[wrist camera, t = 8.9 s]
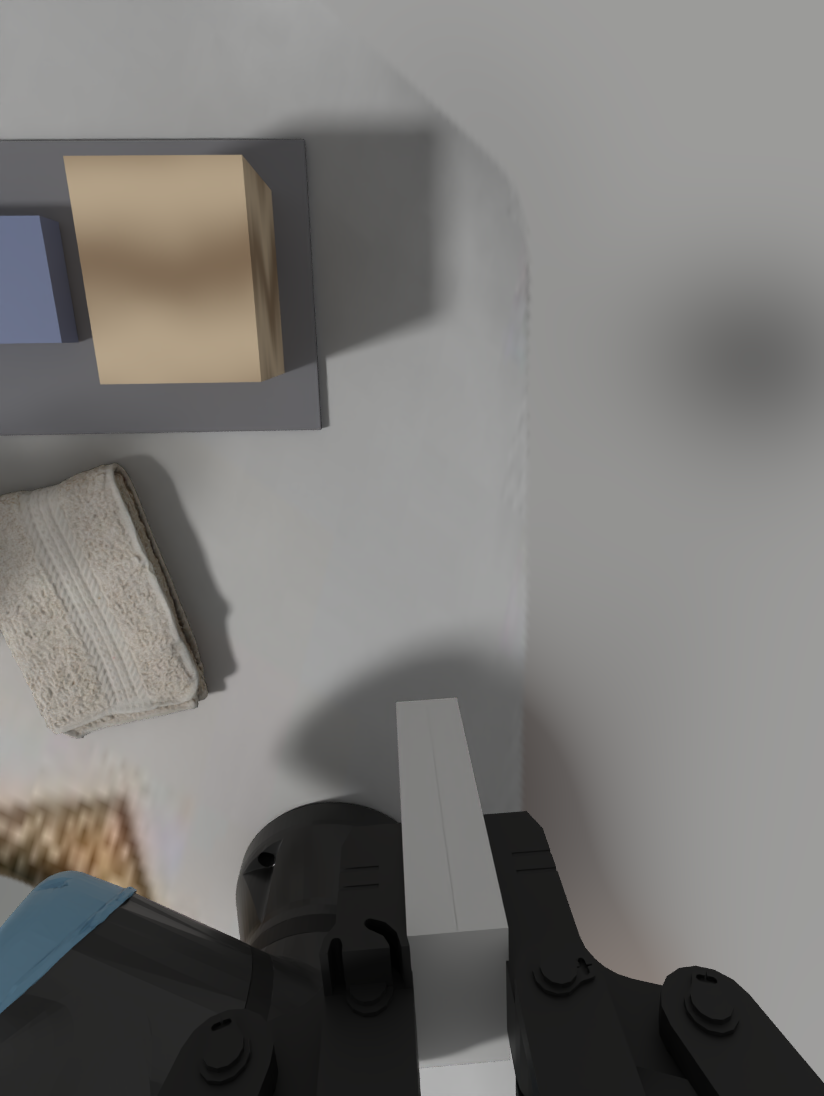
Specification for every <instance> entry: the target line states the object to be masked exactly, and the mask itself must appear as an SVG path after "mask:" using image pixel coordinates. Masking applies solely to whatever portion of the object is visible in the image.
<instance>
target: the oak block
mask: <svg viewBox="0 0 824 1096" xmlns="http://www.w3.org/2000/svg"><path fill="white" fill-rule="evenodd" d="M63 158H64V164H65V171H66V177H67V183H68V189H69V195H70V201H71V207H72V214H73V220H74V226H75V232H76V238H77V244H78V250H79V257H80V263H81V269H82V275H83V281H84V287H85V293H86V300H87V306H88V312H89V318H90V324H91V330H92V336H93V342H94V349H95V355H96V361H97V367H98V373H99V379H100V384H158V383H223V382H262V381H265V380H268V379H270V378H273V377H276V376H278V375H281V374H284V373H285V370H284V356H283V343H282V329H281V315H280V302H279V288H278V274H277V261H276V247H275V234H274V220H273V206H272V193H271V189H270V188H269V187H268V186H267V184H266V183H265V182H264V181H263V180H262V178H261V177H260V176H259V175H258V174H257V172H256V171H255V170H254V169H253V168H252V166H251V165H250V164H249V163H248V162H247V160H246V159H245V158H244V157H243V155H118V156H63Z"/></svg>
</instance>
